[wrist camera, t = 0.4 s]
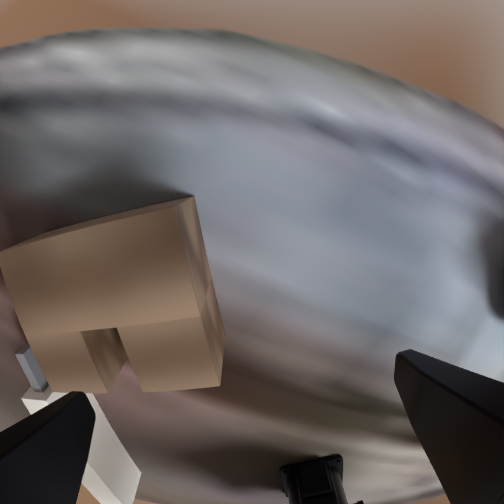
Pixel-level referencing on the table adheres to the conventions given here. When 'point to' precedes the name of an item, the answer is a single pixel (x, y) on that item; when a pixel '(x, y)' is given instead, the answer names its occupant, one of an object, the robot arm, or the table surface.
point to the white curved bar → (102, 445)
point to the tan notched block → (120, 300)
